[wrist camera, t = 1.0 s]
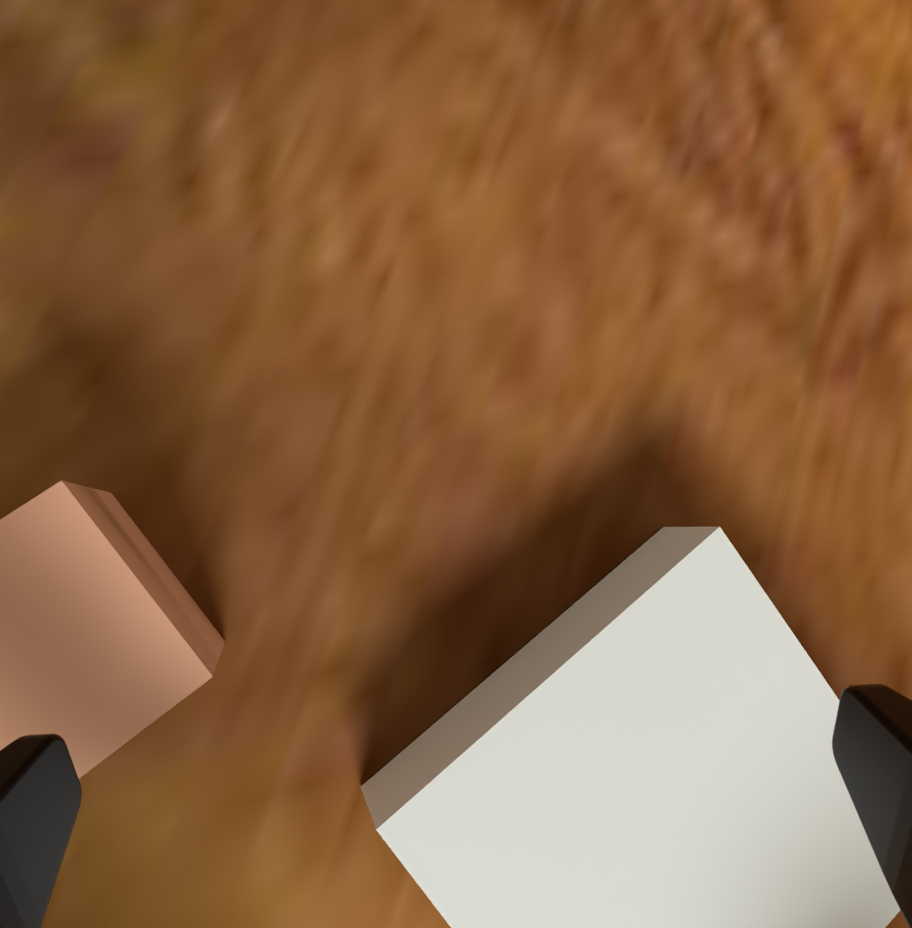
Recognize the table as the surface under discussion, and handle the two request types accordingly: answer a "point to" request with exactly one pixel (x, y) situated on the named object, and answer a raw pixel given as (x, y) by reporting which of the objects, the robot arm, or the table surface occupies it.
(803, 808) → the white slab
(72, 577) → the terracotta block
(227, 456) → the table surface
